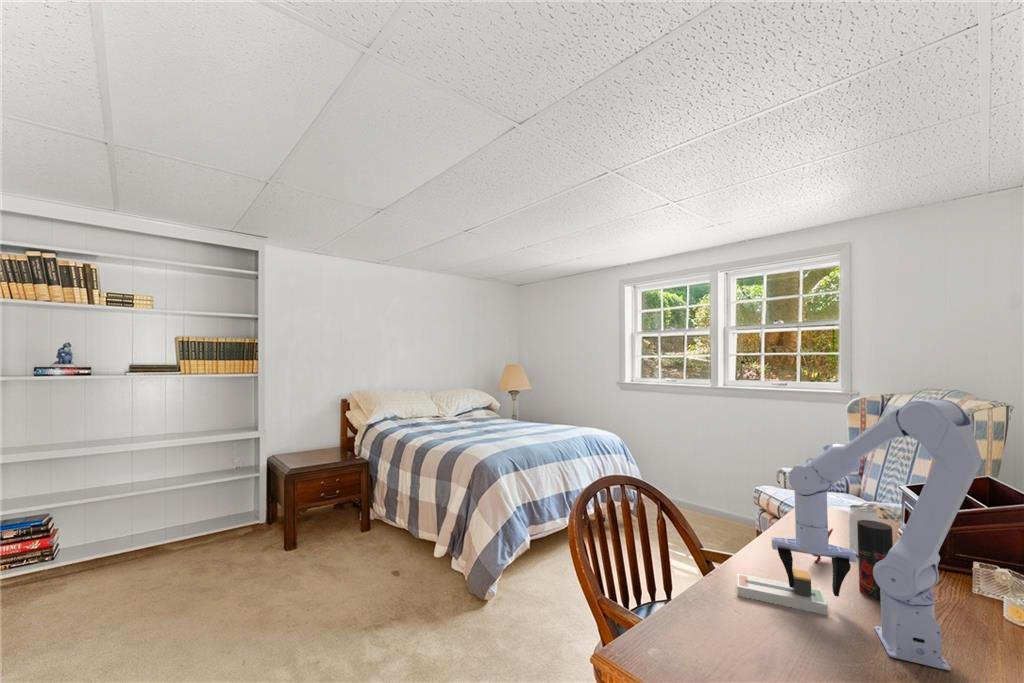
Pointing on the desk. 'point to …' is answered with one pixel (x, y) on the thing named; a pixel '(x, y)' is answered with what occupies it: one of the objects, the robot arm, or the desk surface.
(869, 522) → the deodorant
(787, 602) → the box
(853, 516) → the can
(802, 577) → the handle
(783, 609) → the desk surface
